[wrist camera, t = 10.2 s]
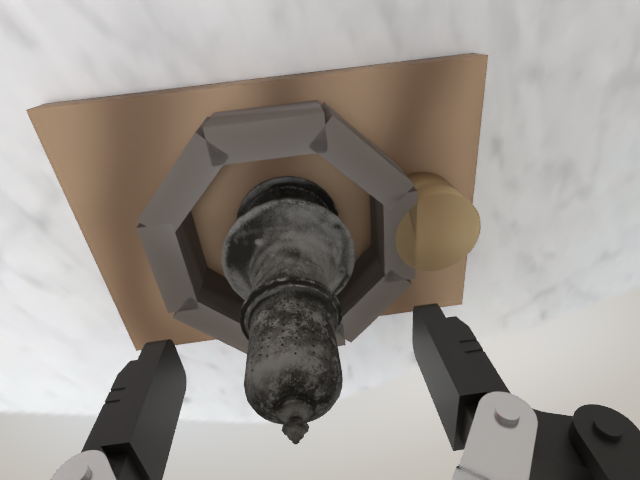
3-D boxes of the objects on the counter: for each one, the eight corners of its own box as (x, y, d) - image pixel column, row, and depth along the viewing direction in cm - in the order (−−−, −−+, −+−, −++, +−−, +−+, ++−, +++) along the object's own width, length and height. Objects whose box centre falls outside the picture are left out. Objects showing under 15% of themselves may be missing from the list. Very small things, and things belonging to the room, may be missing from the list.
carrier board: (472, 53, 18) (526, 60, 14) (452, 289, 25) (484, 338, 21) (44, 103, 18) (-22, 126, 14) (143, 333, 24) (118, 391, 21)
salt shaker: (353, 257, 21) (422, 480, 11) (251, 282, 22) (222, 524, 11) (331, 157, 18) (397, 331, 8) (213, 186, 19) (127, 393, 8)
